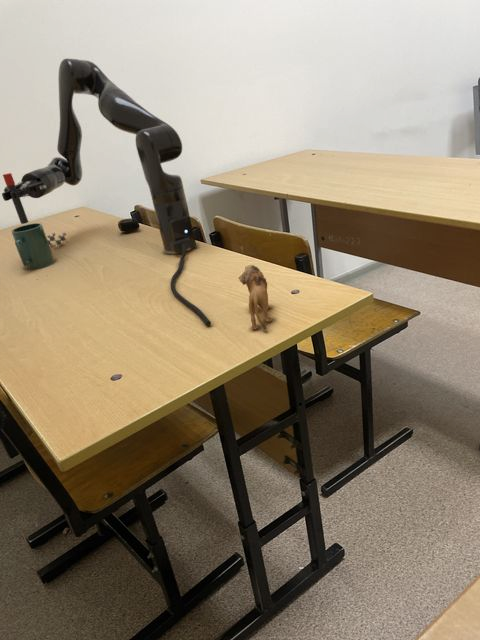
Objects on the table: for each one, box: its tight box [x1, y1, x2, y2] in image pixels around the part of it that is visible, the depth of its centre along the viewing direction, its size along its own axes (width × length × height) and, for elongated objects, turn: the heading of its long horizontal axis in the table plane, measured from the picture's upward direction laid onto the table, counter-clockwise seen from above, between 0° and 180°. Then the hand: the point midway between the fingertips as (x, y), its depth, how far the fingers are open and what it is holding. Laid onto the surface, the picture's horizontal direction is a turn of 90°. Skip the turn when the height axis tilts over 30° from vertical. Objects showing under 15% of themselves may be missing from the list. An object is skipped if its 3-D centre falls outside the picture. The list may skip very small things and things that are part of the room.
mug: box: [10, 222, 55, 270], centre depth 157 cm, size 12×9×12 cm
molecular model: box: [46, 232, 70, 249], centre depth 176 cm, size 14×4×5 cm, turn 78°
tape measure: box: [117, 217, 140, 234], centre depth 180 cm, size 7×7×4 cm
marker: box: [2, 172, 29, 225], centre depth 152 cm, size 2×2×14 cm
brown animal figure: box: [238, 264, 273, 331], centre depth 103 cm, size 15×5×9 cm, turn 10°
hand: (8, 196), depth 149 cm, fingers closed on marker, 2 cm apart
